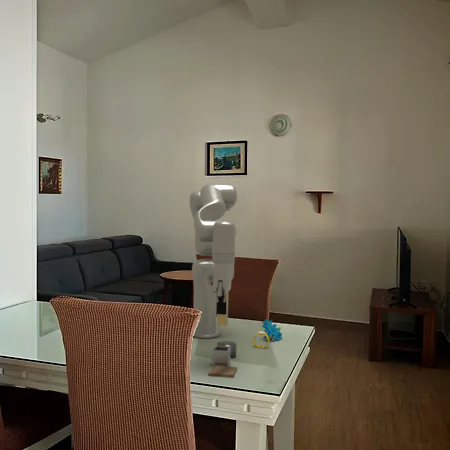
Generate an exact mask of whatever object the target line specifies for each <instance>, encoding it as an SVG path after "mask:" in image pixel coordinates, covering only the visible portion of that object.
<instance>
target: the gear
mask: <svg viewBox="0 0 450 450" xmlns="http://www.w3.org/2000/svg"><path fill="white" fill-rule="evenodd" d="M277 326H278V325H277V324H276V323H273V321H272V320H269V319H265V320H263V321H262V328H264V329H263V332H265V333H266V334H267V335H268V337H269V338H271V337H272V338H271V339H272V340H273V341H275V340H276V341H277V342H279V341H280V340H282V339H283V336H282V335H283V332H281V329H282V327H280V326H279V327H277ZM263 338H264V339H267V337H266V336H265V335H263Z"/></svg>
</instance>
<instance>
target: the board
mask: <svg viewBox="0 0 450 450" xmlns="http://www.w3.org/2000/svg"><path fill="white" fill-rule="evenodd" d="M211 366H212V367H211V368H210V369H209V371H208V373H207V376H209V377H224V378H234V377H235V374H236V373H237V372H238V371H237V370H238V366H230V365H229V366H217V365H211Z"/></svg>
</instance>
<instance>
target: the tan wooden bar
mask: <svg viewBox="0 0 450 450" xmlns="http://www.w3.org/2000/svg"><path fill="white" fill-rule="evenodd" d="M222 293H224V291H222ZM223 296H224V295H223ZM228 300H229V291H228V292H227V293H226V302H227V305H226V315H222V314H217V313H216V327H227V326H228V325H229V324H228V323H229V302H228Z"/></svg>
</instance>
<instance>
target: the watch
mask: <svg viewBox="0 0 450 450" xmlns="http://www.w3.org/2000/svg"><path fill="white" fill-rule="evenodd" d="M258 335H260V336H266V339H267V344H266V345H265V346H262V345H261V346H260V345H258V344H257V343H256V337H257V336H258ZM252 339H253V340H252V341H253V345H254V346H255V347H256V348H257V349H258V348H260V349H266V348H267V347H268V346H269V344H270V337H269V336H268V335H267V333H266V332H265V331H258V332H257V333H256V334H255V335H254V336H253V338H252Z"/></svg>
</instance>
